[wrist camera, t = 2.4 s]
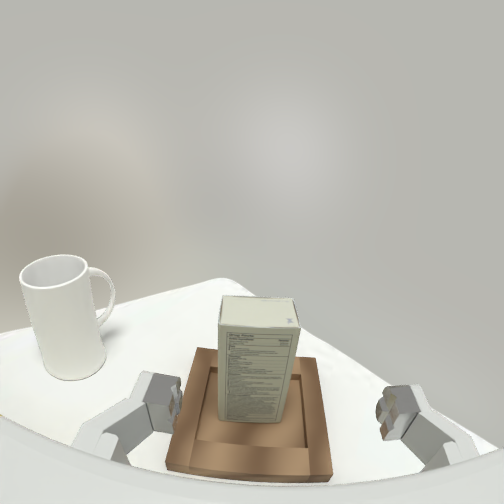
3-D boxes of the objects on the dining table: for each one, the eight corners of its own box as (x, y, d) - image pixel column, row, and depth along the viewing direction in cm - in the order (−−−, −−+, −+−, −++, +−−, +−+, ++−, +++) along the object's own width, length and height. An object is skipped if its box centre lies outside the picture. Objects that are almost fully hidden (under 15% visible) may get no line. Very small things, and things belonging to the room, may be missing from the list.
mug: (109, 321, 40) (98, 241, 36) (140, 354, 35) (129, 265, 31) (36, 349, 32) (12, 265, 27) (57, 391, 27) (24, 298, 22)
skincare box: (277, 393, 31) (296, 297, 26) (280, 425, 27) (304, 328, 22) (218, 390, 31) (221, 292, 26) (215, 422, 27) (217, 323, 22)
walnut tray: (167, 469, 22) (165, 461, 21) (197, 357, 36) (197, 347, 36) (328, 481, 21) (333, 474, 21) (312, 367, 36) (315, 357, 36)
